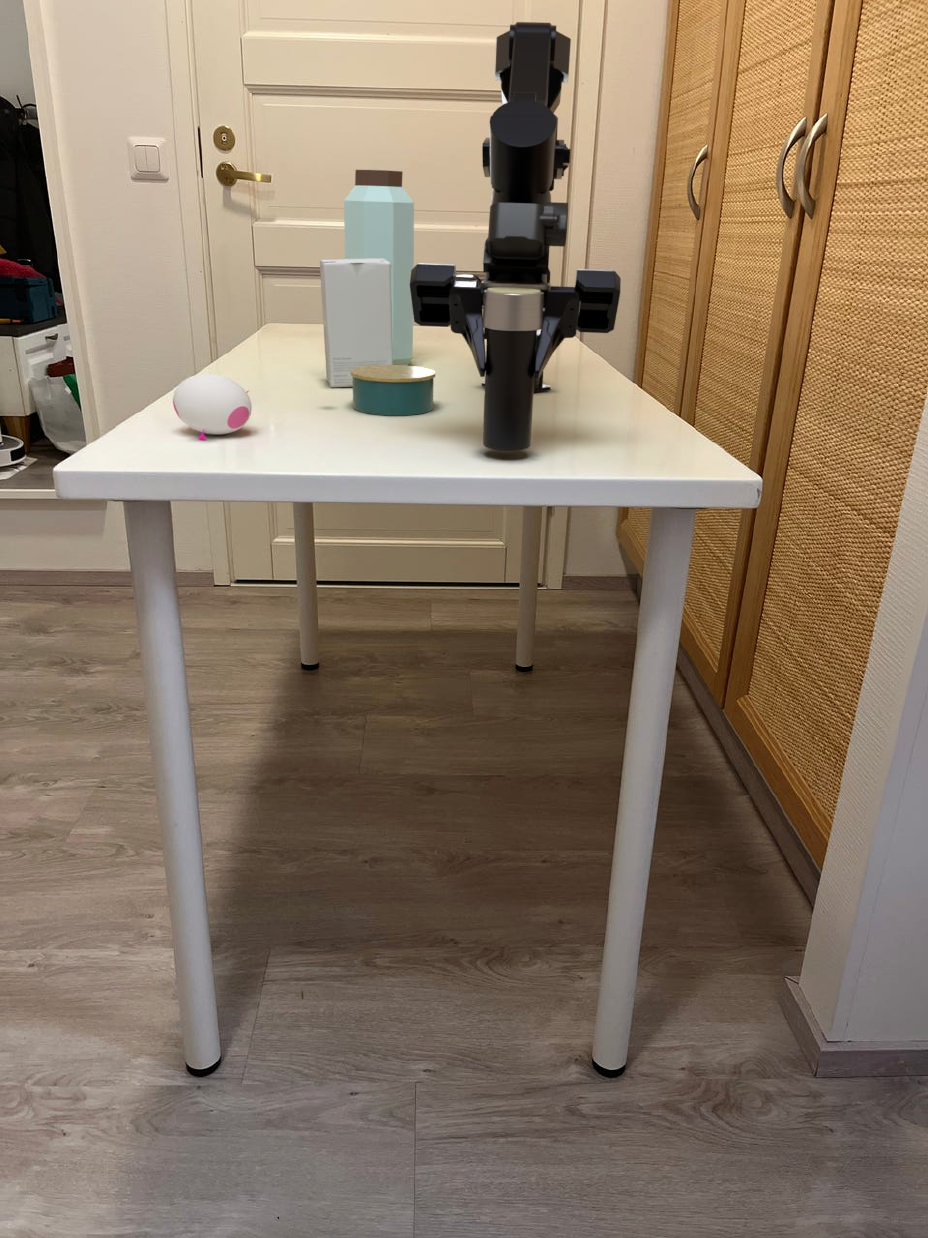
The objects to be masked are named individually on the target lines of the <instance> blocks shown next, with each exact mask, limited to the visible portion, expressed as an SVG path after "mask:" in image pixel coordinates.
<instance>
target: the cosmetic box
mask: <svg viewBox="0 0 928 1238" xmlns="http://www.w3.org/2000/svg"><path fill="white" fill-rule="evenodd" d="M319 273H320V293H321V305H322V307H321V308H322V323H323V340H324V342H323V343H324V355H325V357H324V358H325V375H326V376H325V377H326V380H327V382H328V385H329V387H330V388H353V376H351V370H352V369H354V368H357V367H362V366H371V365H393V346H392V305H391V263H390V262H388V261H386V260H385V259H383V258H368V259H345V258H340V259H339V258H338V259H337V258H336V259H319Z"/></svg>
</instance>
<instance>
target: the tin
mask: <svg viewBox="0 0 928 1238" xmlns="http://www.w3.org/2000/svg"><path fill="white" fill-rule="evenodd" d="M351 376H353V387H352V408H353V409H354V410H355V411H357V412H360V413H364V414H369V415H376V416H389V417H390V416H393V417H394V416H395V417H396V416H398V417H399V416H400V417H402V416H416V415H421V414H426V413H429V412H431V411H432V410H433V409H434V378H435V377H436V371H435V370H433V369H431V368H428V367H422V366H417V365H415V366H414V365H408V366H406V365H371V366H362V367H357V368H354V369H352V370H351Z"/></svg>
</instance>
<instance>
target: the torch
mask: <svg viewBox="0 0 928 1238" xmlns="http://www.w3.org/2000/svg"><path fill="white" fill-rule="evenodd" d="M543 300H544V293H543V292H541V291H540V290H538V289H530V288H516V287H494V288H488V289H487V290H484V302H483V309H482V313H483V327H485V328H487V339H486V343H485V353H486V370H485V377H484V382H485V387H484V395H483V396H484V397H483V424H482V425H483V427H482V445H483V447H484V448H486V449H490V450H495V451H501V452H502V451H503V452H519V451H524V450H528V449H529V448H530V447H531V443H532V442H531V441H532V440H531V439H532V423H533V407H534V406H533V405H534V393H535V392H534V374H535V357H536V340H537V331H540V330H541V328H542V316H543Z"/></svg>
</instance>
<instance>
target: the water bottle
mask: <svg viewBox="0 0 928 1238" xmlns="http://www.w3.org/2000/svg"><path fill="white" fill-rule="evenodd" d="M403 173H404V171H402V170H401V171H400V170H388V169H387V170H385V169H383V170H382V169H355V175H354V176H355V177H354V178H355V180H354V186H353V188H351V191H350V192H349V193H348V194H347V196H346V197H345V198H344V200H343V216H344V218H343V219H344V220H343V222H344V223H343V225H344V259H368V258H383V259H385V260H386V261H388V262H390V263H391V305H392V346H393V365H406V366H409V364H410V363H411V361H412V359H413V357H414V356H413V355H414V341H413V340H414V315H413V307H412V299H411V291H410V277H411V270H412V269H413V268H414V262H415V261H414V256H415V255H414V251H415V245H414V244H415V232H414V231H415V202H414V201H413V200H412V198H411V197H410V196H409V194H408V193H407V191H406V190H405V189H404V188H403Z"/></svg>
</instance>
